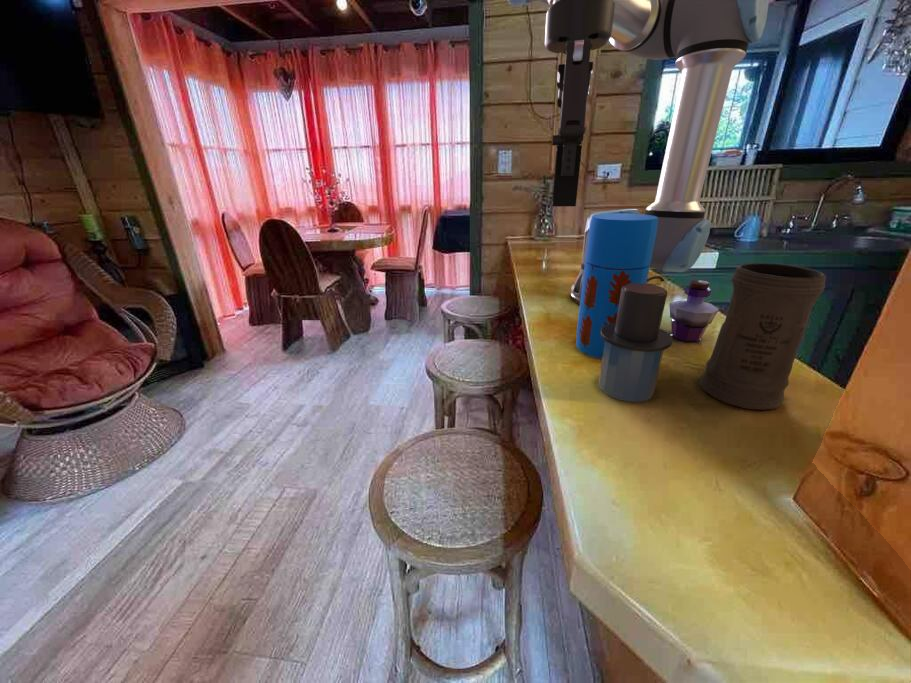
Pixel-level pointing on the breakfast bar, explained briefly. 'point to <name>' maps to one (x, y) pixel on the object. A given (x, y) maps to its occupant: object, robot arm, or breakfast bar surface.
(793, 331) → the beer stein
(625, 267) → the thermos
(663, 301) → the dripper
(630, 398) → the cup
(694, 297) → the potion bottle
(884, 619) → the breakfast bar surface
